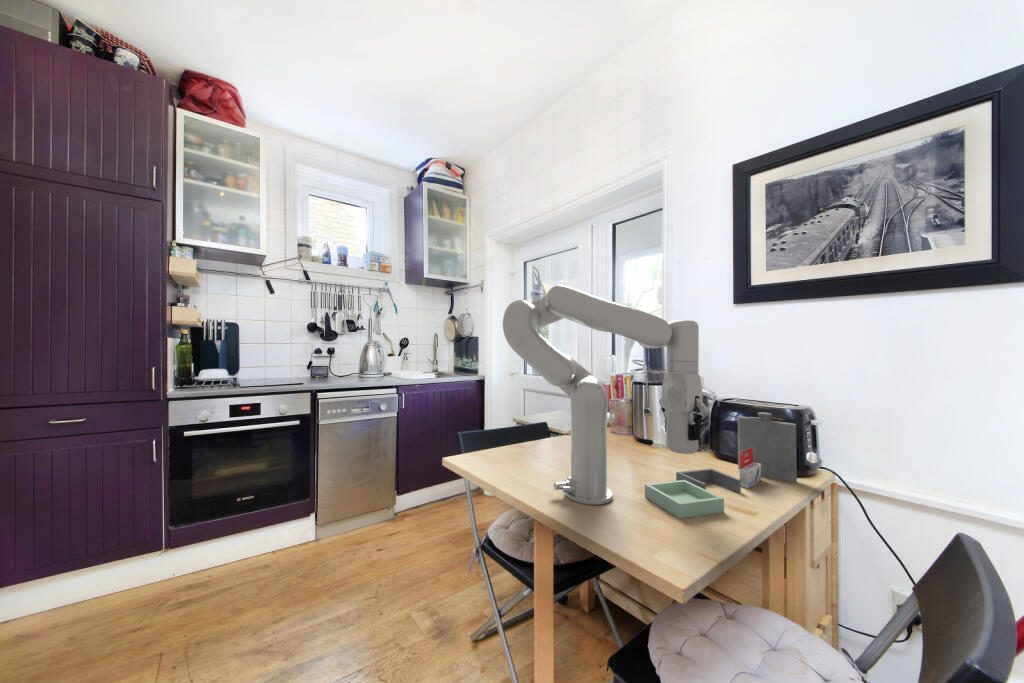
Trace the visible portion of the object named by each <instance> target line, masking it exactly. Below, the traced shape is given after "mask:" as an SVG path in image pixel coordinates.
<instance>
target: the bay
mask: <svg viewBox="0 0 1024 683" xmlns="http://www.w3.org/2000/svg"><path fill="white" fill-rule="evenodd" d="M675 473H676V474H675V477H676V479H675V481H679V480H686V481H688V482H690V483H692V484H694V485H696V486H699V487H701V488H703V489H705V490H707V483H709V482H712V483H714V484H716V485H719V486H722V487H723V488H726V489H728V490H730V491H733V492H735V493H738V494H739V493H741V490H742V489H741V480H740V478H737V477H735V476H731V475H729V474H727V473H724V472H722V471H719V470H716V469H713V468H703V469H693V470H684V471H676V472H675Z"/></svg>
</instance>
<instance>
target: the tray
mask: <svg viewBox="0 0 1024 683" xmlns="http://www.w3.org/2000/svg"><path fill="white" fill-rule="evenodd" d="M644 497H645V498H647V499H648V500H650V501H651V502H653V503H654V504H657V506H659V507H661V508H663V509H664V510H666V511H667V512H669V513H671V514H672V515H674V516H676V517H677V518H679V519H686V518H693V517H699V516H707V515H712V514H713V515H714V514H719V513H724V512H725V499H724V497H722V496H720V495H717V494H715V493H713V492H712V491H709V490H707V489H706V490H705V489H703V488H701V487H699V486H696V485H694V484H692V483H690V482H688V481H686V480H679V481H676V480H672V481H670V480H669V481H664V482H653V483H652V482H651V483H645V484H644Z"/></svg>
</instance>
